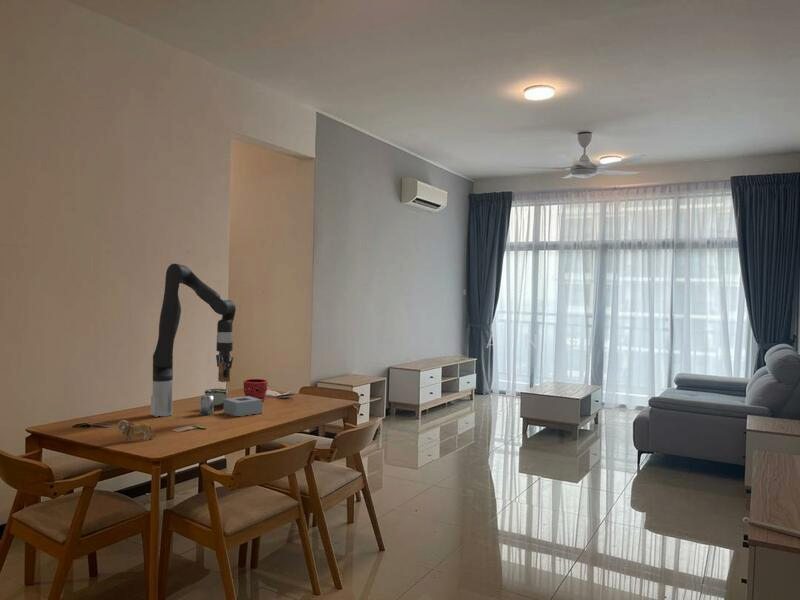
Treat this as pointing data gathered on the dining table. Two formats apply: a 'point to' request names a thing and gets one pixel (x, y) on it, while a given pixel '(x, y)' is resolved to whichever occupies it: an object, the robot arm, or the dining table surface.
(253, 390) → the plant pot
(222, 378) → the square peg
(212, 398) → the round peg
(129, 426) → the lion figurine
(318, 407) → the dining table surface
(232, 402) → the socket block
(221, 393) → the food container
